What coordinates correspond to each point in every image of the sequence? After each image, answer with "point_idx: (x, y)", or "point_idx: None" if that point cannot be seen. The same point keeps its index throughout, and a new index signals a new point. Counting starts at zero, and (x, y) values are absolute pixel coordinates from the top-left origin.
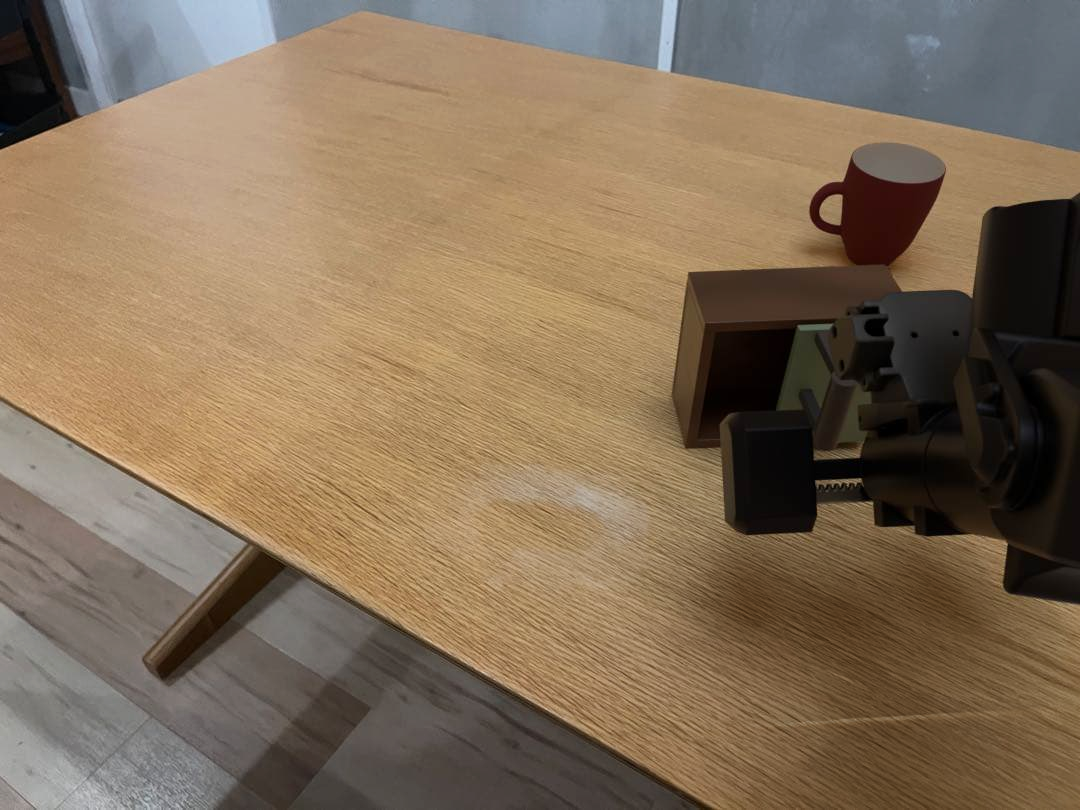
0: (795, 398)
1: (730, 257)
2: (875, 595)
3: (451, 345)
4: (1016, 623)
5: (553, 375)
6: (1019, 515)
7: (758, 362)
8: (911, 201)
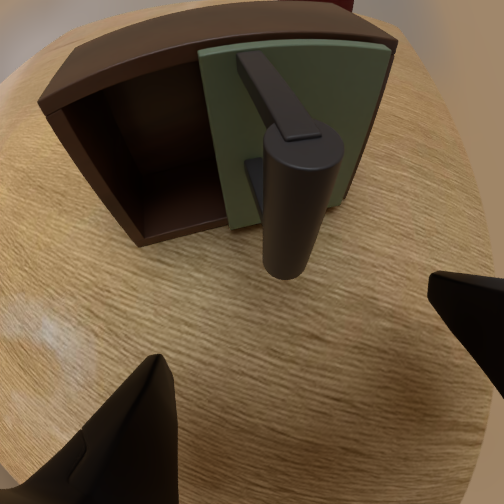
0: (240, 173)
1: None
2: (352, 425)
3: (7, 183)
4: (465, 401)
5: (50, 187)
6: None
7: (209, 127)
8: (337, 5)
